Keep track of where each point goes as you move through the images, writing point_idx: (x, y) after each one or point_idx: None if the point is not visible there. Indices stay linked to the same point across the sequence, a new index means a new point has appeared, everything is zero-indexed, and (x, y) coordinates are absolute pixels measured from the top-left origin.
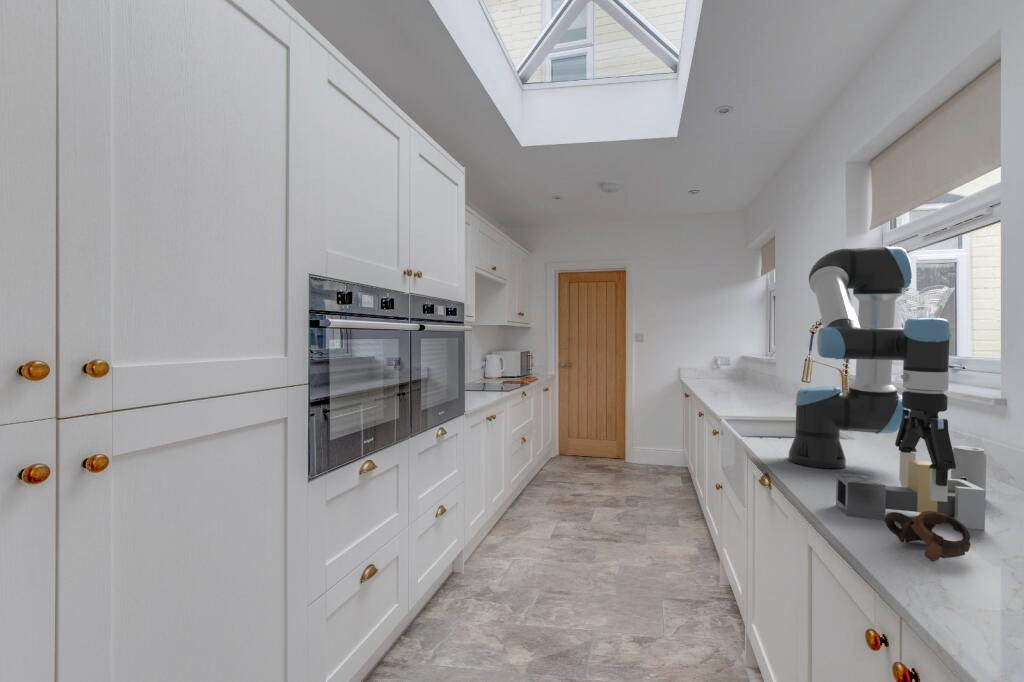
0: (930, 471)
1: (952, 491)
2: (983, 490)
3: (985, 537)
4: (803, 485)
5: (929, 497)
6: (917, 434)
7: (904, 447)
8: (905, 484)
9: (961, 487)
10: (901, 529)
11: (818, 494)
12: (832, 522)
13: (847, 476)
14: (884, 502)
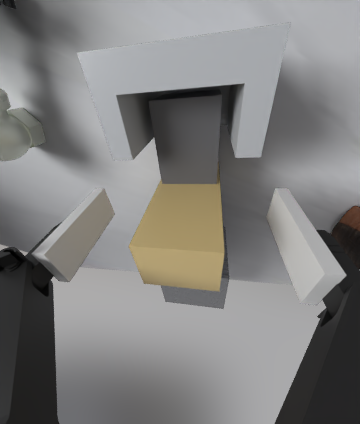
0: (296, 287)
1: (155, 118)
2: (286, 37)
3: (312, 81)
4: (97, 258)
5: (268, 220)
6: (31, 412)
7: (49, 297)
8: (22, 154)
9: (251, 141)
10: (358, 268)
11: (131, 257)
12: (252, 277)
13: (182, 298)
14: (226, 250)
